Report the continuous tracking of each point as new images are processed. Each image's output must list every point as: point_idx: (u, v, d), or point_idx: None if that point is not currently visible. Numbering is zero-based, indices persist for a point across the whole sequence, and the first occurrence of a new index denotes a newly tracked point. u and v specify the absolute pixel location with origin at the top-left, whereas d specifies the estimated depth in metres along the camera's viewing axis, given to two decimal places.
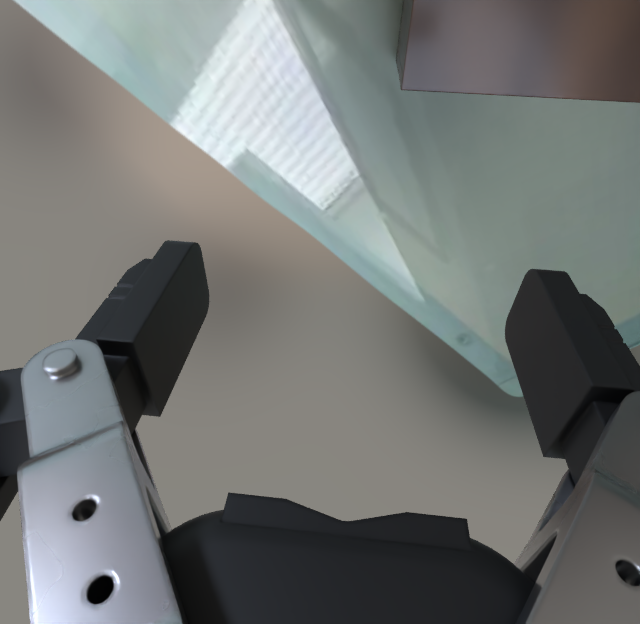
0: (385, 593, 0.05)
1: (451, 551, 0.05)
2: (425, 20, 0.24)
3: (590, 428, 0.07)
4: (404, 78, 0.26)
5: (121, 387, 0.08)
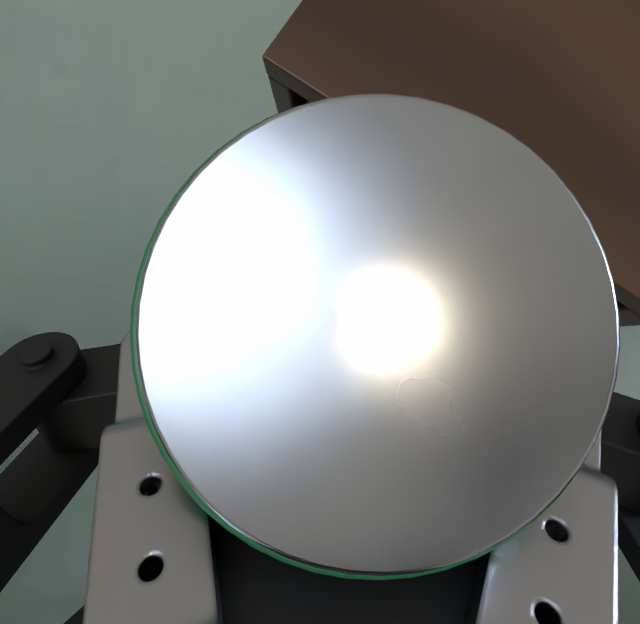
0: (385, 593, 0.05)
1: None
2: None
3: None
4: None
5: None
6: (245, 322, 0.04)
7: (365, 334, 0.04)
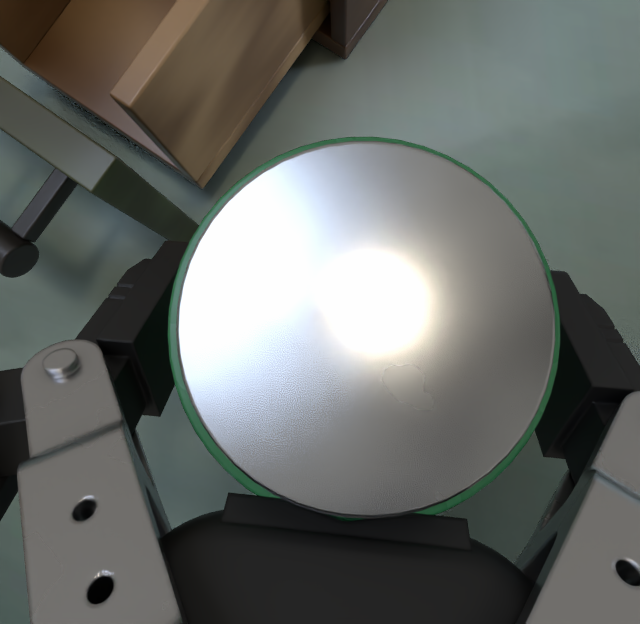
0: (385, 593, 0.05)
1: (451, 551, 0.05)
2: None
3: (590, 428, 0.07)
4: None
5: (121, 387, 0.08)
6: (263, 322, 0.05)
7: (357, 331, 0.05)
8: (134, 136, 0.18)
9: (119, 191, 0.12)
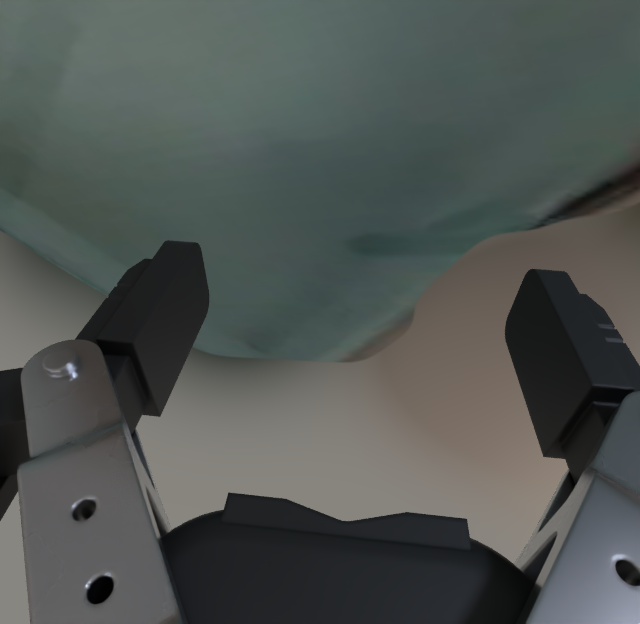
0: (385, 593, 0.05)
1: (451, 551, 0.05)
2: None
3: (590, 428, 0.07)
4: None
5: (121, 387, 0.08)
6: None
7: None
8: None
9: None
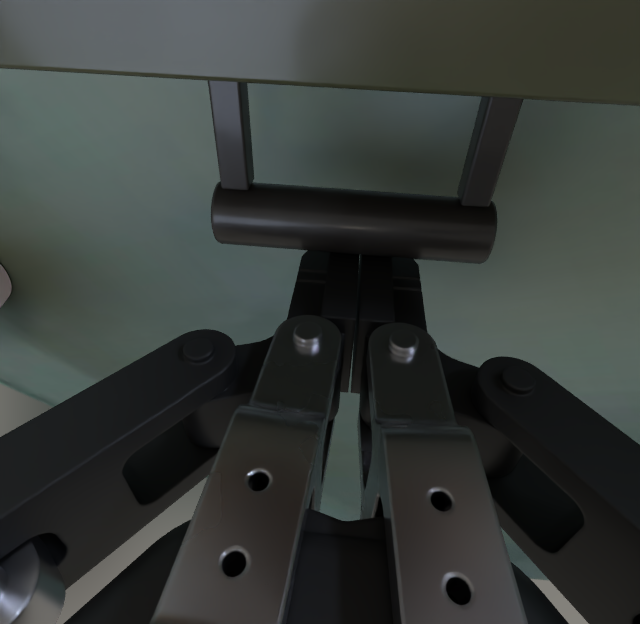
0: (385, 593, 0.05)
1: None
2: None
3: (364, 358, 0.08)
4: None
5: None
6: None
7: None
8: None
9: None
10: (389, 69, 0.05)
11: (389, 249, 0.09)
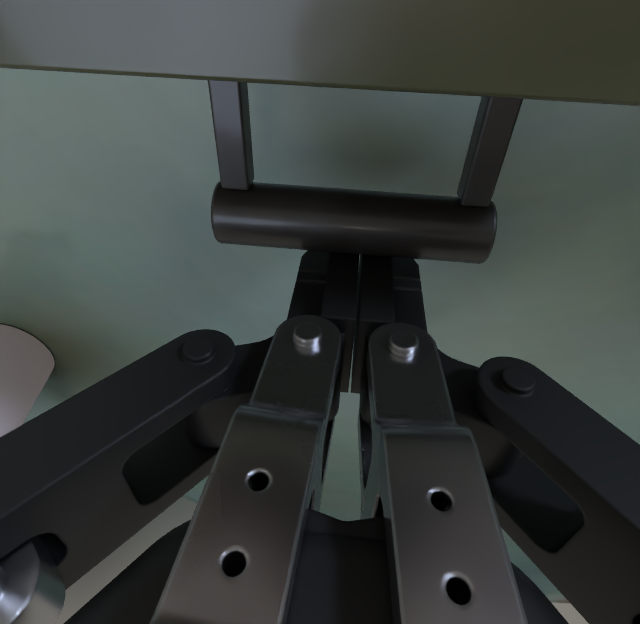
0: (385, 593, 0.05)
1: None
2: None
3: (364, 358, 0.08)
4: None
5: None
6: None
7: None
8: None
9: None
10: (389, 68, 0.05)
11: (389, 249, 0.09)
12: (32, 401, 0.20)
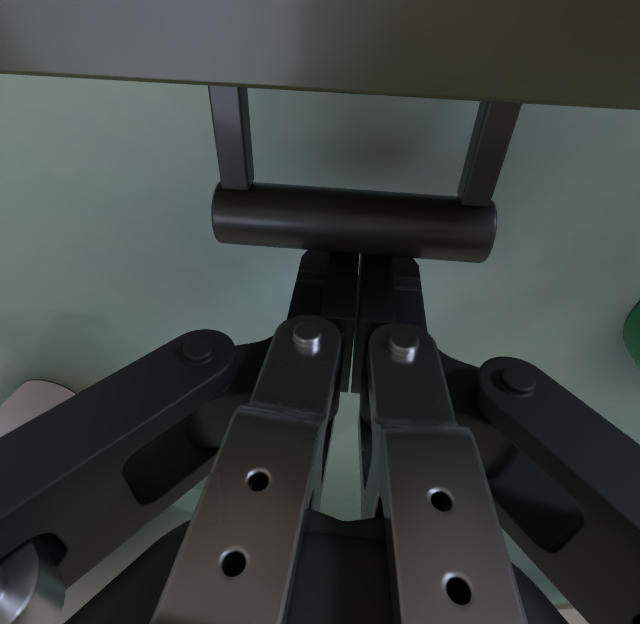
0: (385, 593, 0.05)
1: None
2: None
3: (364, 358, 0.08)
4: None
5: None
6: None
7: None
8: None
9: None
10: (389, 74, 0.05)
11: (389, 249, 0.09)
12: None
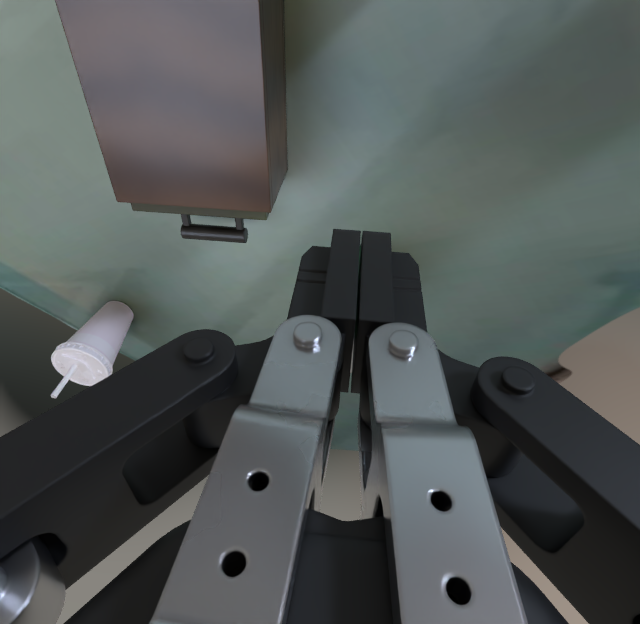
0: (385, 593, 0.05)
1: None
2: None
3: (364, 358, 0.08)
4: None
5: None
6: None
7: None
8: None
9: None
10: (201, 213, 0.35)
11: (222, 239, 0.40)
12: (127, 329, 0.53)
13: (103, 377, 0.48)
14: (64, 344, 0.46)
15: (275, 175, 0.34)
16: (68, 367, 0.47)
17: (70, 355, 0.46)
